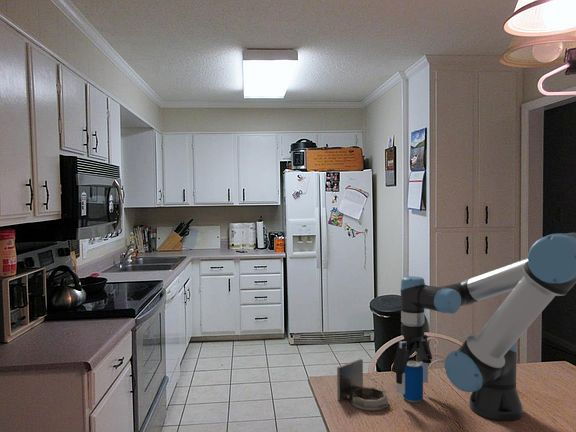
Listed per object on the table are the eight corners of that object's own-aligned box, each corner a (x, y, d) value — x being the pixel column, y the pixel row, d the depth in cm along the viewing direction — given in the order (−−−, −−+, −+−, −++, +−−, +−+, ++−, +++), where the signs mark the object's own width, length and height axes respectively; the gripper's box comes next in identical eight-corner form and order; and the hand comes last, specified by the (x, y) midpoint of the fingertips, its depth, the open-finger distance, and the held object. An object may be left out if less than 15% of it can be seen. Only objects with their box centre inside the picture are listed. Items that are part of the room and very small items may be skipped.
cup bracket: (395, 403, 147) (395, 369, 147) (372, 414, 139) (372, 379, 139) (360, 390, 158) (360, 358, 158) (337, 400, 150) (337, 367, 150)
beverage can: (421, 395, 153) (420, 360, 153) (424, 403, 147) (424, 367, 146) (401, 394, 154) (401, 359, 154) (404, 403, 147) (404, 366, 147)
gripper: (423, 315, 161) (423, 374, 161) (380, 328, 144) (380, 394, 145) (442, 319, 155) (442, 380, 156) (400, 333, 139) (400, 401, 139)
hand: (412, 387), depth 150 cm, fingers open, 13 cm apart
